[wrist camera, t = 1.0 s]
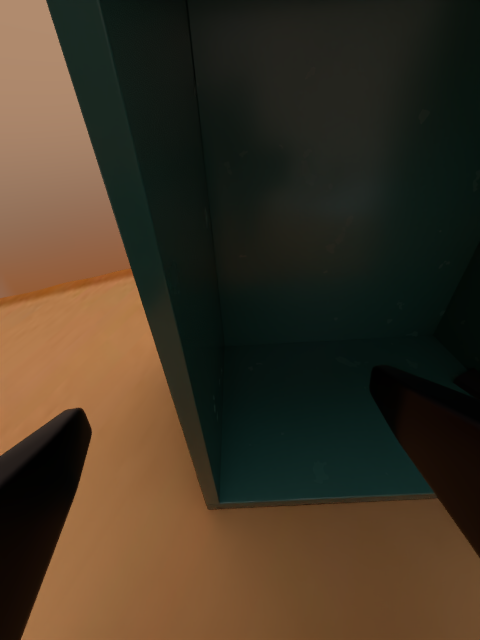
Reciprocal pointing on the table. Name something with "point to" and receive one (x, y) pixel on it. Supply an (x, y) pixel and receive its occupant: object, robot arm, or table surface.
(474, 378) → the remote control
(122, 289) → the table surface
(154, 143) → the teal storage box
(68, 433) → the robot arm
